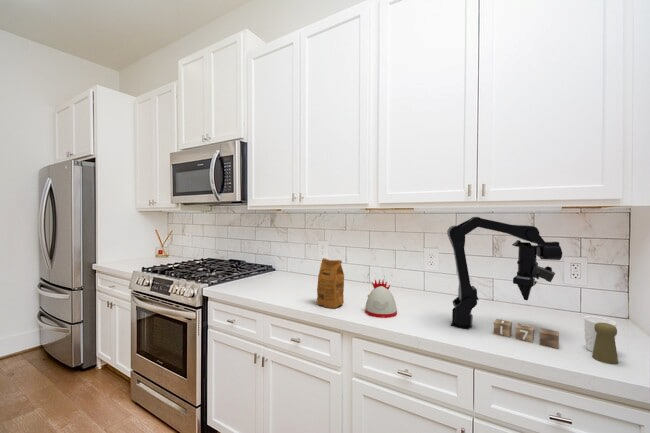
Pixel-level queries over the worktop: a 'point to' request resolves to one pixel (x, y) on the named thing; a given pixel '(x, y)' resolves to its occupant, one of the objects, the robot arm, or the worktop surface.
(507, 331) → the block one
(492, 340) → the worktop surface
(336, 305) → the coffee package
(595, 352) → the cork
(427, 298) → the worktop surface
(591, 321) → the white cup
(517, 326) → the tan marked cube block
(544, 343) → the plain block
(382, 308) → the grey dome
